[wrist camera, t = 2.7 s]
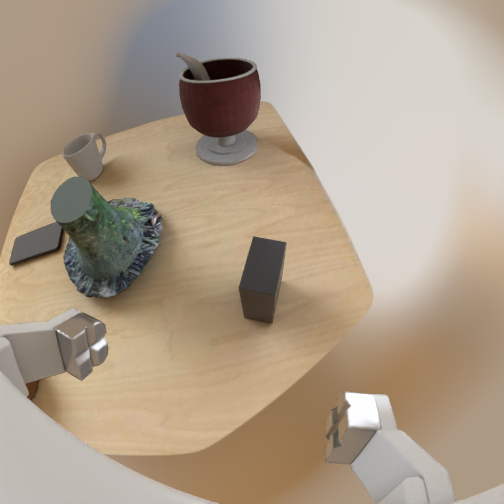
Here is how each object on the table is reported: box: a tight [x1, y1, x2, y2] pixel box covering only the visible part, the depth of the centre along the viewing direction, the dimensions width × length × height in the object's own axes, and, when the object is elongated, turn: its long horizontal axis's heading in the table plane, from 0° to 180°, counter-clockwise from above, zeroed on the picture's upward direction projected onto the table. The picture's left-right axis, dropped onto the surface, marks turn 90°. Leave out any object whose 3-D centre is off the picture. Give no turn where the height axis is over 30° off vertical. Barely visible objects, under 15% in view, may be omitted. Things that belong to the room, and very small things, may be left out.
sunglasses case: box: [239, 237, 286, 323], centre depth 30 cm, size 4×6×9 cm, turn 167°
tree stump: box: [51, 177, 163, 298], centre depth 34 cm, size 18×20×18 cm
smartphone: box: [9, 222, 63, 265], centre depth 40 cm, size 7×1×15 cm
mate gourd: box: [176, 53, 261, 165], centre depth 43 cm, size 16×14×20 cm
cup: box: [62, 133, 106, 181], centre depth 47 cm, size 8×10×8 cm
